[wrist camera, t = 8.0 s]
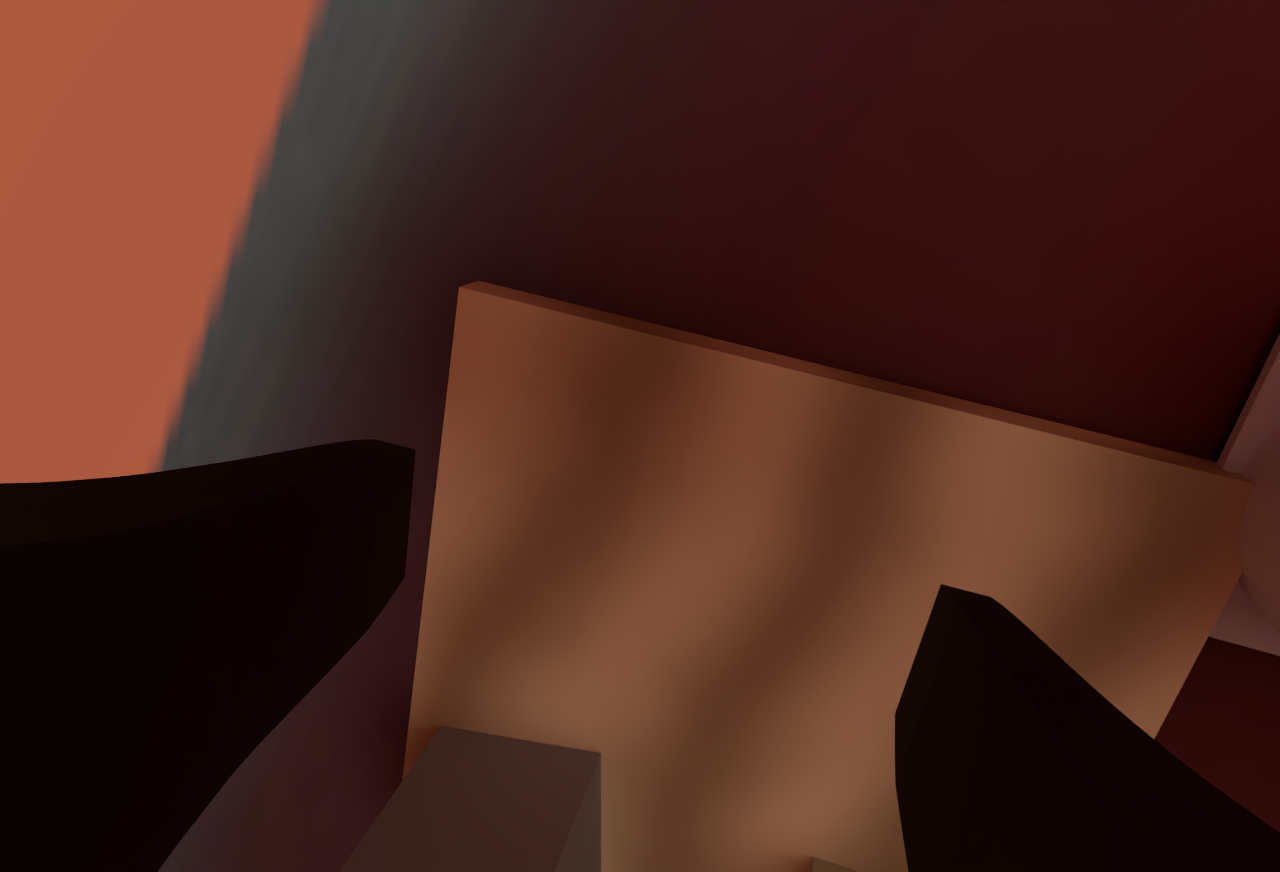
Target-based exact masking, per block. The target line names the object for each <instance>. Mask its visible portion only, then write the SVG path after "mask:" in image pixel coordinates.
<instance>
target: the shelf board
mask: <svg viewBox="0 0 1280 872" xmlns="http://www.w3.org/2000/svg"><path fill="white" fill-rule="evenodd" d="M1216 463H1217V462H1215V461H1211V460H1207V459H1203V458H1199V457H1195V456H1191V455H1187V454H1182V453H1178V452H1174V451H1170V450H1166V449H1162V448H1158V447H1154V446H1150V445H1146V444H1142V443H1138V442H1134V441H1130V440H1125V439H1121V438H1117V437H1113V436H1109V435H1105V434H1101V433H1097V432H1093V431H1089V430H1085V429H1081V428H1077V427H1073V426H1069V425H1064V424H1060V423H1056V422H1052V421H1048V420H1044V419H1040V418H1036V417H1032V416H1028V415H1024V414H1020V413H1016V412H1012V411H1007V410H1003V409H999V408H995V407H991V406H987V405H983V404H979V403H975V402H971V401H967V400H963V399H959V398H955V397H950V396H946V395H942V394H938V393H934V392H930V391H926V390H922V389H918V388H914V387H910V386H906V385H902V384H898V383H894V382H889V381H885V380H881V379H877V378H873V377H869V376H865V375H861V374H857V373H853V372H849V371H845V370H841V369H837V368H832V367H828V366H824V365H820V364H816V363H812V362H808V361H804V360H800V359H796V358H792V357H788V356H784V355H780V354H775V353H771V352H767V351H763V350H759V349H755V348H751V347H747V346H743V345H739V344H735V343H731V342H727V341H723V340H719V339H714V338H710V337H706V336H702V335H698V334H694V333H690V332H686V331H682V330H678V329H674V328H670V327H666V326H662V325H657V324H653V323H649V322H645V321H641V320H637V319H633V318H629V317H625V316H621V315H617V314H613V313H609V312H605V311H600V310H596V309H592V308H588V307H584V306H580V305H576V304H572V303H568V302H564V301H560V300H556V299H552V298H548V297H544V296H539V295H535V294H531V293H527V292H523V291H519V290H515V289H511V288H507V287H503V286H499V285H495V284H491V283H487V282H482V281H476V282H473V283H470V284H467V285H464V286H461V287H459V293H458V301H457V310H456V319H455V327H454V336H453V345H452V353H451V362H450V371H449V380H448V388H447V397H446V406H445V414H444V423H443V432H442V440H441V449H440V458H439V466H438V475H437V484H436V492H435V501H434V510H433V519H432V527H431V536H430V545H429V553H428V562H427V571H426V579H425V588H424V597H423V605H422V614H421V623H420V631H419V640H418V649H417V658H416V666H415V675H414V684H413V692H412V701H411V710H410V718H409V727H408V736H407V744H406V753H405V762H404V770H403V779H402V781H403V780H404V778H405V777H406V775H407V774H408V773H409V771H410V770H411V768H412V767H413V765H414V764H415V763H416V761H417V760H418V758H419V757H420V755H421V754H422V753H423V751H424V750H425V748H426V747H427V745H428V744H429V743H430V741H431V740H432V738H433V737H434V735H435V734H436V733H437V731H438V730H439V728H440V727H441V726H446V727H452V728H458V729H464V730H470V731H476V732H481V733H487V734H493V735H499V736H505V737H511V738H516V739H522V740H528V741H534V742H540V743H546V744H552V745H557V746H563V747H569V748H575V749H581V750H587V751H592V752H598V753H601V872H808V871H809V868H810V865H811V862H812V860H813V857H817V858H820V859H823V860H826V861H829V862H832V863H835V864H838V865H841V866H844V867H847V868H850V869H853V870H856V871H859V872H908V866H907V860H906V853H905V847H904V840H903V834H902V827H901V820H900V813H899V807H898V800H897V792H896V785H895V712H896V709H897V707H898V704H899V701H900V698H901V695H902V692H903V690H904V687H905V684H906V681H907V678H908V676H909V673H910V670H911V667H912V664H913V661H914V659H915V656H916V653H917V650H918V647H919V645H920V642H921V639H922V636H923V633H924V630H925V628H926V625H927V622H928V619H929V616H930V613H931V611H932V608H933V605H934V602H935V599H936V597H937V594H938V591H939V588H940V585H941V584H943V585H947V586H951V587H954V588H958V589H962V590H966V591H970V592H974V593H978V594H982V595H986V596H990V597H992V598H993V599H995V600H996V601H997V602H999V603H1000V604H1001V605H1003V606H1004V607H1005V608H1006V609H1008V610H1009V611H1010V612H1011V613H1012V614H1014V615H1015V616H1016V617H1017V618H1018V619H1019V620H1020V621H1021V622H1023V623H1024V624H1025V625H1026V626H1027V627H1028V628H1029V629H1030V630H1031V631H1033V632H1034V633H1035V634H1036V635H1037V636H1038V637H1039V638H1040V639H1041V640H1042V641H1043V642H1044V643H1045V644H1047V645H1048V646H1049V647H1050V648H1051V649H1052V650H1053V651H1054V652H1055V653H1056V654H1057V655H1058V656H1060V657H1061V658H1062V659H1063V660H1064V661H1065V662H1066V663H1067V664H1068V665H1069V666H1070V667H1071V668H1073V669H1074V670H1075V671H1076V672H1077V673H1078V674H1079V675H1080V676H1081V677H1082V678H1084V679H1085V680H1086V681H1087V682H1088V683H1089V684H1090V685H1091V686H1092V687H1093V688H1095V689H1096V690H1097V691H1098V692H1099V693H1100V694H1101V695H1102V696H1104V697H1105V698H1106V699H1107V700H1108V701H1109V702H1110V703H1112V704H1113V705H1114V706H1115V707H1116V708H1117V709H1118V710H1120V711H1121V712H1122V713H1123V714H1124V715H1125V716H1127V717H1128V718H1129V719H1130V720H1131V721H1132V722H1134V723H1135V724H1136V725H1137V726H1139V727H1140V728H1141V729H1142V730H1143V731H1145V732H1146V733H1147V734H1148V735H1149V736H1151V737H1152V738H1153V739H1154V738H1155V736H1156V735H1157V733H1158V731H1159V729H1160V727H1161V725H1162V723H1163V721H1164V719H1165V718H1166V716H1167V714H1168V712H1169V710H1170V708H1171V706H1172V704H1173V702H1174V701H1175V699H1176V697H1177V695H1178V693H1179V691H1180V689H1181V687H1182V685H1183V684H1184V682H1185V680H1186V678H1187V676H1188V674H1189V672H1190V670H1191V668H1192V667H1193V665H1194V663H1195V661H1196V659H1197V657H1198V655H1199V653H1200V651H1201V650H1202V648H1203V646H1204V644H1205V642H1206V640H1207V638H1208V636H1209V634H1210V633H1211V631H1212V629H1213V627H1214V625H1215V623H1216V621H1217V619H1218V617H1219V615H1220V614H1221V612H1222V610H1223V608H1224V606H1225V604H1226V602H1227V600H1228V598H1229V597H1230V595H1231V593H1232V591H1233V589H1234V587H1235V585H1236V583H1237V581H1238V580H1239V578H1240V576H1241V574H1242V563H1241V554H1240V544H1239V542H1240V535H1241V528H1242V521H1243V514H1244V511H1245V509H1246V506H1247V503H1248V501H1249V498H1250V496H1251V493H1252V491H1253V488H1254V485H1255V484H1254V483H1252V482H1251V481H1250V480H1249V479H1247V478H1246V477H1245V476H1243V475H1242V474H1238V473H1234V472H1230V471H1226V470H1223V469H1221V468H1220V467H1219V466H1217V465H1216Z"/></svg>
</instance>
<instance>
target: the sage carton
mask: <svg viewBox="0 0 1280 872" xmlns="http://www.w3.org/2000/svg"><path fill="white" fill-rule="evenodd" d="M808 872H859V871H856V870H853V869H850V868H847V867H844V866H841V865H838V864H835V863H832V862H829V861H826V860H823V859H820V858H817V857H813V860H812V862H811V865H810V868H809V871H808Z"/></svg>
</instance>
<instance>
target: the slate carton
mask: <svg viewBox="0 0 1280 872" xmlns="http://www.w3.org/2000/svg"><path fill="white" fill-rule="evenodd" d="M339 872H601V753H598V752H592V751H587V750H581V749H575V748H569V747H563V746H557V745H552V744H546V743H540V742H534V741H528V740H522V739H516V738H511V737H505V736H499V735H493V734H487V733H481V732H476V731H470V730H464V729H458V728H452V727H446V726H441V727H440V728H439V730H438V731H437V733H436V734H435V735H434V737H433V738H432V740H431V741H430V743H429V744H428V745H427V747H426V748H425V750H424V751H423V753H422V754H421V755H420V757H419V758H418V760H417V761H416V763H415V764H414V765H413V767H412V768H411V770H410V771H409V773H408V774H407V775H406V777H405V778H404V780H403V781H402V783H401V784H400V785H399V787H398V788H397V790H396V791H395V793H394V794H393V795H392V797H391V798H390V800H389V801H388V803H387V804H386V805H385V807H384V808H383V810H382V811H381V813H380V814H379V815H378V817H377V818H376V820H375V821H374V823H373V824H372V825H371V827H370V828H369V830H368V831H367V832H366V834H365V835H364V837H363V838H362V840H361V841H360V842H359V844H358V845H357V847H356V848H355V850H354V851H353V852H352V854H351V855H350V857H349V858H348V860H347V861H346V862H345V864H344V865H343V867H342V868H341V870H340V871H339Z"/></svg>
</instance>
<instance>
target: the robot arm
mask: <svg viewBox="0 0 1280 872" xmlns="http://www.w3.org/2000/svg"><path fill="white" fill-rule="evenodd" d="M414 462H415V449H411V448H407V447H403V446H399V445H395V444H391V443H387V442H383V441H379V440H353V441H344V442H337V443H330V444H324V445H318V446H312V447H307V448H301V449H295V450H290V451H284V452H279V453H273V454H268V455H262V456H257V457H251V458H246V459H240V460H234V461H228V462H221V463H215V464H208V465H202V466H195V467H189V468H182V469H175V470H169V471H162V472H155V473H147V474H139V475H130V476H120V477H111V478H98V479H86V480H74V481H61V482H42V483H3V484H0V872H157V871H158V870H159V869H160V867H161V866H162V865H163V863H164V862H165V861H166V859H167V858H168V857H169V855H170V854H171V852H172V851H173V850H174V848H175V847H176V846H177V844H178V843H179V842H180V840H181V839H182V838H183V836H184V835H185V834H186V833H187V831H188V830H189V829H190V827H191V826H192V825H193V824H194V822H195V821H196V820H197V818H198V817H199V816H200V815H201V813H202V812H203V811H204V810H205V808H206V807H207V806H208V804H209V803H210V802H211V801H212V799H213V798H214V797H215V795H216V794H217V793H218V792H219V790H220V789H221V788H222V786H223V785H224V784H225V783H226V781H227V780H228V779H229V777H230V776H231V775H232V774H233V773H234V772H235V770H236V769H237V768H238V767H239V766H240V765H241V764H242V763H243V761H244V760H245V759H246V758H247V757H248V756H249V755H250V753H251V752H252V751H253V750H254V749H255V748H256V747H257V746H258V745H259V744H260V743H261V741H262V740H263V739H264V738H265V737H266V736H267V735H268V734H269V733H270V732H271V731H272V730H273V729H274V728H275V727H276V726H277V725H278V724H279V723H280V722H281V721H282V720H283V719H284V718H285V717H286V716H287V714H288V713H289V712H290V711H291V710H292V709H293V708H294V707H295V706H296V705H297V704H298V703H299V702H300V701H301V700H302V699H303V698H304V697H305V696H306V695H307V694H308V693H309V692H310V691H311V690H312V689H313V687H314V686H315V685H316V684H317V683H318V682H319V681H320V680H321V679H322V678H323V677H324V676H325V675H326V674H327V673H328V672H329V671H330V670H331V669H332V668H333V667H334V666H335V665H336V663H337V662H338V661H339V660H340V659H341V658H342V657H343V656H344V655H345V654H346V653H347V652H348V651H349V650H350V649H351V648H352V646H353V645H354V644H355V643H356V642H357V641H358V640H359V639H360V638H361V637H362V636H363V635H364V633H365V632H366V631H367V630H368V629H369V627H370V626H371V625H372V623H373V622H374V621H375V619H376V618H377V617H378V615H379V614H380V612H381V611H382V610H383V608H384V607H385V606H386V604H387V603H388V601H389V600H390V598H391V597H392V595H393V594H394V592H395V591H396V589H397V588H398V586H399V585H400V583H401V582H402V580H403V579H404V577H405V568H406V556H407V544H408V532H409V521H410V509H411V497H412V485H413V473H414ZM1216 465H1217V466H1219V467H1220V468H1221V469H1223V470H1226V471H1230V472H1234V473H1238V474H1242V475H1243V476H1245V477H1246V478H1247V479H1249V480H1250V481H1251V482H1252V483H1254V484H1255V485H1254V488H1253V491H1252V493H1251V496H1250V498H1249V501H1248V503H1247V506H1246V509H1245V511H1244V514H1243V521H1242V528H1241V535H1240V542H1239V544H1240V554H1241V563H1242V574H1241V576H1240V578H1239V580H1238V581H1237V583H1236V585H1235V587H1234V589H1233V591H1232V593H1231V595H1230V597H1229V598H1228V600H1227V602H1226V604H1225V606H1224V608H1223V610H1222V612H1221V614H1220V615H1219V617H1218V619H1217V621H1216V623H1215V625H1214V627H1213V629H1212V631H1211V633H1210V634H1209V636H1208V637H1212V638H1216V639H1219V640H1223V641H1226V642H1230V643H1234V644H1237V645H1241V646H1245V647H1248V648H1252V649H1256V650H1259V651H1263V652H1266V653H1270V654H1274V655H1277V656H1280V334H1279V336H1278V338H1277V340H1276V342H1275V344H1274V346H1273V348H1272V350H1271V352H1270V354H1269V356H1268V359H1267V361H1266V363H1265V365H1264V367H1263V369H1262V371H1261V373H1260V375H1259V377H1258V379H1257V381H1256V383H1255V385H1254V387H1253V389H1252V391H1251V393H1250V395H1249V397H1248V399H1247V401H1246V404H1245V406H1244V408H1243V410H1242V412H1241V414H1240V416H1239V418H1238V420H1237V422H1236V424H1235V426H1234V428H1233V430H1232V432H1231V434H1230V436H1229V438H1228V440H1227V442H1226V444H1225V446H1224V449H1223V451H1222V453H1221V455H1220V457H1219V459H1218V461H1217V463H1216ZM895 785H896V792H897V800H898V807H899V813H900V820H901V827H902V834H903V840H904V847H905V853H906V860H907V866H908V872H1280V833H1279V832H1278V831H1276V830H1275V829H1273V828H1272V827H1270V826H1269V825H1268V824H1266V823H1265V822H1263V821H1262V820H1260V819H1259V818H1258V817H1256V816H1255V815H1254V814H1252V813H1251V812H1249V811H1248V810H1247V809H1245V808H1244V807H1242V806H1241V805H1240V804H1238V803H1237V802H1235V801H1234V800H1233V799H1231V798H1230V797H1228V796H1227V795H1226V794H1224V793H1223V792H1222V791H1220V790H1219V789H1217V788H1216V787H1215V786H1213V785H1212V784H1210V783H1209V782H1208V781H1206V780H1205V779H1204V778H1202V777H1201V776H1200V775H1198V774H1197V773H1196V772H1194V771H1193V770H1192V769H1191V768H1189V767H1188V766H1187V765H1185V764H1184V763H1183V762H1181V761H1180V760H1179V759H1178V758H1176V757H1175V756H1174V755H1173V754H1171V753H1170V752H1169V751H1168V750H1166V749H1165V748H1164V747H1163V746H1162V745H1160V744H1159V743H1158V742H1157V741H1156V740H1154V739H1153V738H1152V737H1151V736H1149V735H1148V734H1147V733H1146V732H1145V731H1143V730H1142V729H1141V728H1140V727H1139V726H1137V725H1136V724H1135V723H1134V722H1132V721H1131V720H1130V719H1129V718H1128V717H1127V716H1125V715H1124V714H1123V713H1122V712H1121V711H1120V710H1118V709H1117V708H1116V707H1115V706H1114V705H1113V704H1112V703H1110V702H1109V701H1108V700H1107V699H1106V698H1105V697H1104V696H1102V695H1101V694H1100V693H1099V692H1098V691H1097V690H1096V689H1095V688H1093V687H1092V686H1091V685H1090V684H1089V683H1088V682H1087V681H1086V680H1085V679H1084V678H1082V677H1081V676H1080V675H1079V674H1078V673H1077V672H1076V671H1075V670H1074V669H1073V668H1071V667H1070V666H1069V665H1068V664H1067V663H1066V662H1065V661H1064V660H1063V659H1062V658H1061V657H1060V656H1058V655H1057V654H1056V653H1055V652H1054V651H1053V650H1052V649H1051V648H1050V647H1049V646H1048V645H1047V644H1045V643H1044V642H1043V641H1042V640H1041V639H1040V638H1039V637H1038V636H1037V635H1036V634H1035V633H1034V632H1033V631H1031V630H1030V629H1029V628H1028V627H1027V626H1026V625H1025V624H1024V623H1023V622H1021V621H1020V620H1019V619H1018V618H1017V617H1016V616H1015V615H1014V614H1012V613H1011V612H1010V611H1009V610H1008V609H1006V608H1005V607H1004V606H1003V605H1001V604H1000V603H999V602H997V601H996V600H995V599H993V598H992V597H990V596H986V595H982V594H978V593H974V592H970V591H966V590H962V589H958V588H954V587H951V586H947V585H943V584H941V585H940V588H939V591H938V594H937V597H936V599H935V602H934V605H933V608H932V611H931V613H930V616H929V619H928V622H927V625H926V628H925V630H924V633H923V636H922V639H921V642H920V645H919V647H918V650H917V653H916V656H915V659H914V661H913V664H912V667H911V670H910V673H909V676H908V678H907V681H906V684H905V687H904V690H903V692H902V695H901V698H900V701H899V704H898V707H897V709H896V712H895Z"/></svg>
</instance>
